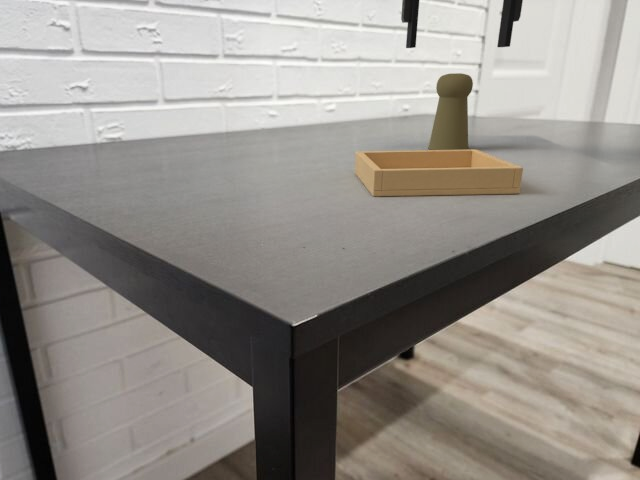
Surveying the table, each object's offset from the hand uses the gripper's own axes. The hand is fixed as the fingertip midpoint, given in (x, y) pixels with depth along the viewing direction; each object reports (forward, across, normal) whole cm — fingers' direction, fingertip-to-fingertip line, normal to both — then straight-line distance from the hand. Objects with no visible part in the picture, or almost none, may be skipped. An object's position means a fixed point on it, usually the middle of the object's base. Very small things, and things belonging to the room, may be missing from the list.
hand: (457, 47), depth 75 cm
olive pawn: (+15, 0, 0) cm, 15 cm away
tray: (+14, +10, +25) cm, 31 cm away
